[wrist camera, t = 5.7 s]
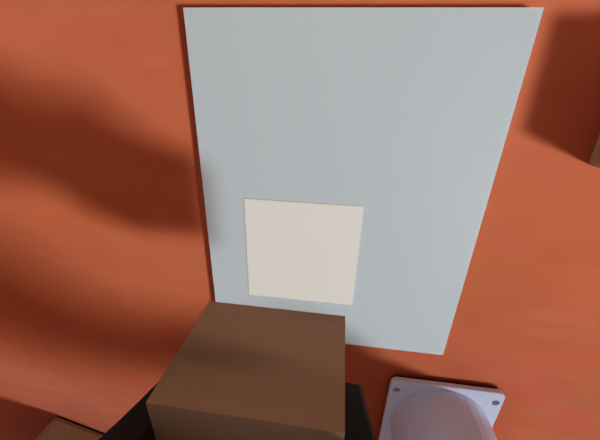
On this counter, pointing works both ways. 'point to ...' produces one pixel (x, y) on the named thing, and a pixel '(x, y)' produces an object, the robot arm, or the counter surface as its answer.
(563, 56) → the counter surface
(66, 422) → the wooden block
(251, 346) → the walnut block
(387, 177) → the board
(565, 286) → the counter surface
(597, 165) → the maple block
